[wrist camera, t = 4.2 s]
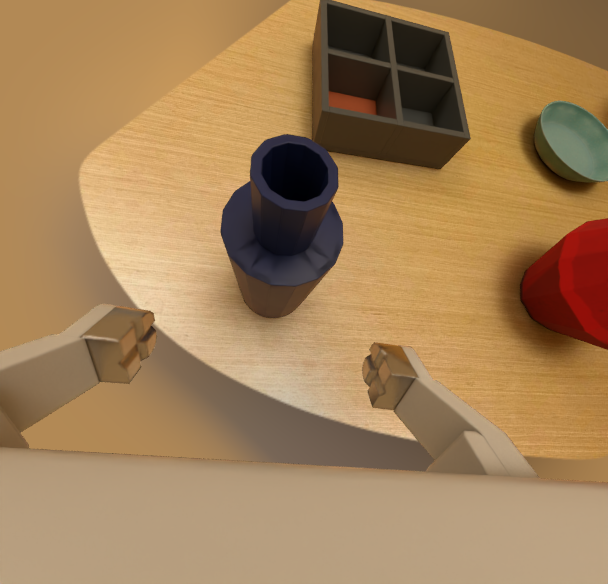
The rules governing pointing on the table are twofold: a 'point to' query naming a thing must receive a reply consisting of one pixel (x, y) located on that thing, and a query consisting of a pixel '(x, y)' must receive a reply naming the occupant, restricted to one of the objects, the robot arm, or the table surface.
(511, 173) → the table surface
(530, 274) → the bottle
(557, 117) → the saucer
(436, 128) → the tray
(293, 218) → the navy bottle
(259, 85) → the table surface
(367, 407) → the table surface
